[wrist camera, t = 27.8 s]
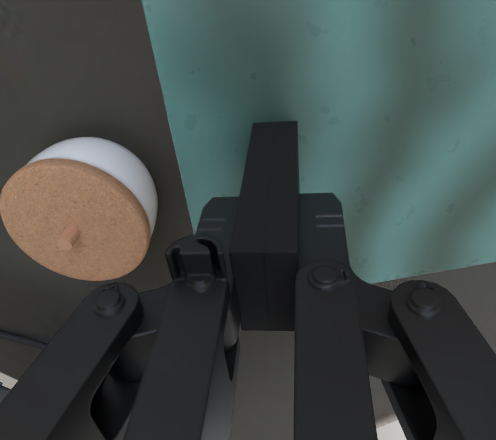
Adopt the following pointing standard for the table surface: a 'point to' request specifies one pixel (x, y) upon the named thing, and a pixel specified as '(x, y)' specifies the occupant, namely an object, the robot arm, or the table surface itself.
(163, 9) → the chest lid
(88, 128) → the table surface
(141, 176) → the trinket box
